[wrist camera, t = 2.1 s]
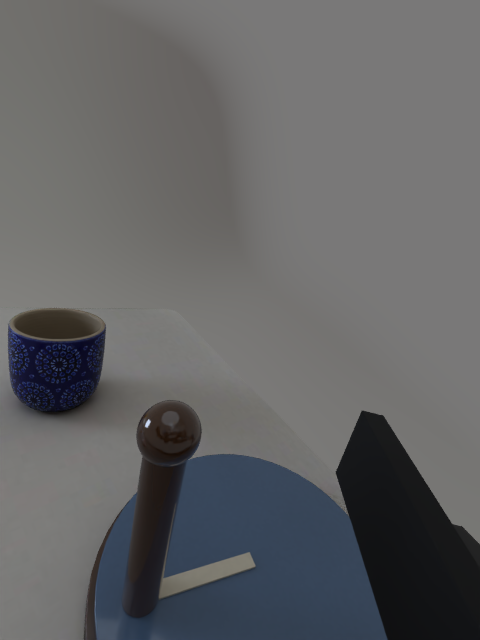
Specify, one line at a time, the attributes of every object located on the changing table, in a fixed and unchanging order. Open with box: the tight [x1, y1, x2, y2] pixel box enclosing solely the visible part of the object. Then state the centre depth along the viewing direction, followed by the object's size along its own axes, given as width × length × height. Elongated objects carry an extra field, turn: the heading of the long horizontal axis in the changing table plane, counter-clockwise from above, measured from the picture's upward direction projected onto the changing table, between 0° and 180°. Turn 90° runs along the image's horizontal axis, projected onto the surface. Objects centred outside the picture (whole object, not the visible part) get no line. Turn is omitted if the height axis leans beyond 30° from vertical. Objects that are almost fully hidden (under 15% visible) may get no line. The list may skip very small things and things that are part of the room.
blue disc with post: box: [94, 400, 387, 640], centre depth 25 cm, size 24×24×17 cm
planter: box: [8, 308, 106, 412], centre depth 43 cm, size 11×11×11 cm
